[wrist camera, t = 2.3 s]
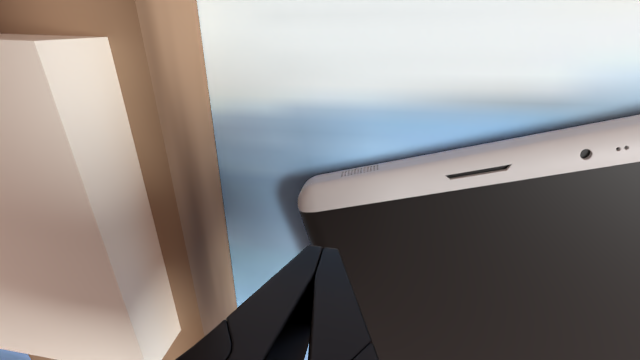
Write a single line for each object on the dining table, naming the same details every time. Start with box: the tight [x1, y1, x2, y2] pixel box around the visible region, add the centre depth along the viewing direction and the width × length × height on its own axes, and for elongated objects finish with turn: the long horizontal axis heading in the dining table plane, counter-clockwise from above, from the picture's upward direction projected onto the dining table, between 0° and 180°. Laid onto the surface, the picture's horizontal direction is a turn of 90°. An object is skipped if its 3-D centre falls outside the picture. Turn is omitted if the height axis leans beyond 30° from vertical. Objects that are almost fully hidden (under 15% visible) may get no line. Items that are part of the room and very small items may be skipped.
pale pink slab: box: [0, 34, 181, 360], centre depth 10 cm, size 11×8×2 cm
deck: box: [0, 0, 237, 360], centre depth 13 cm, size 10×20×3 cm, turn 179°
